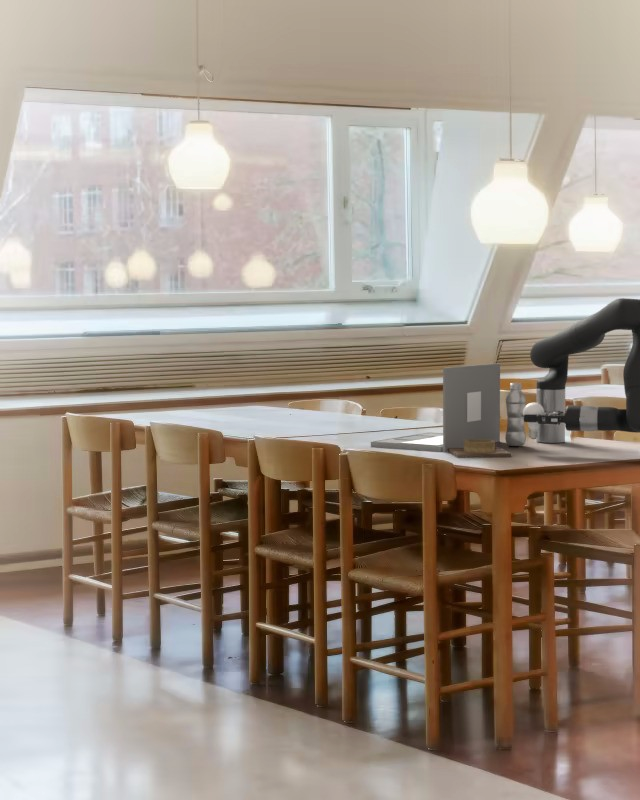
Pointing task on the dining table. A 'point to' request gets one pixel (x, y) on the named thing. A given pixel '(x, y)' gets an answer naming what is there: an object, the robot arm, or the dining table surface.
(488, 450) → the brown board with block
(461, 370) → the laptop
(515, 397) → the plastic bottle
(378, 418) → the dining table surface
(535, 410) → the lightbulb
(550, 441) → the robot arm
